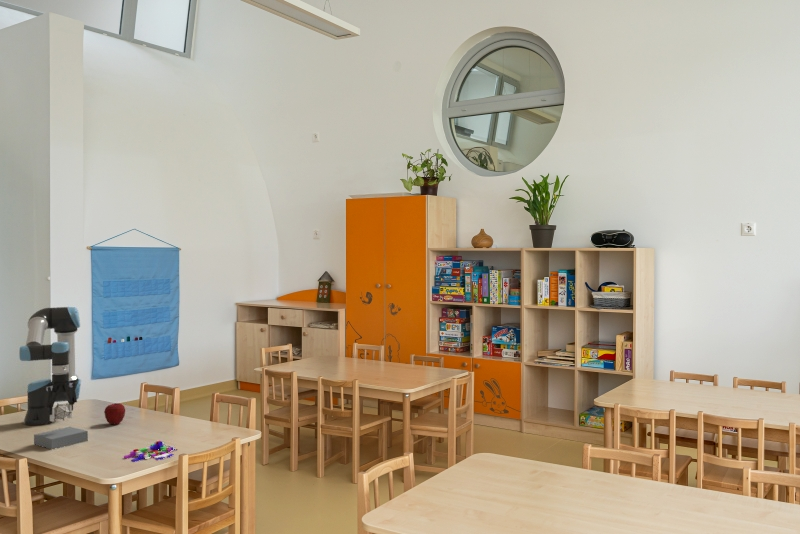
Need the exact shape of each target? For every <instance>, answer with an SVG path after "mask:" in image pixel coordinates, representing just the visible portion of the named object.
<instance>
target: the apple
mask: <svg viewBox="0 0 800 534" xmlns="http://www.w3.org/2000/svg"><path fill="white" fill-rule="evenodd" d="M125 414H126V408H125V405H124V404H122V403H117V402H116V403H112V404H109V405H107V406H106V407H105V409H104V417H105V419H106V421H107V423H109V424H110V425H120V423H121V422H123V420H124V418H125Z"/></svg>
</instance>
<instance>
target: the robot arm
mask: <svg viewBox="0 0 800 534" xmlns="http://www.w3.org/2000/svg"><path fill="white" fill-rule="evenodd" d="M80 321H81V320H80V314H79V310H78V308H77V307H73V306H63V307H62V306H61V307H44V308H42V309H39V310H37V311H36V312H34V313H33V314H32V315H31V316H30V317H29V319H28V321H27V328H28V332H27V337H26V341H25V345H21V346H20V347H19V355H18V356H19V360H20V361H21V362H33V361H34V362H35V361H45V360H46V361H47V360H48V361H49V360H51V378H43V379H37V380H34V381H31V382H29V383H28V385H27V391H26V393H27V411H26V413H25V416H24V419H23V424H24V425H25V424H26V425H27V426H39V425H46V424H51V423H54V422H55V421H56V419H55V418H54V408H55V407H54V405H55V403H58V402H59V403H61V402H67V403H68V404H67V403H66V404H67V407H68V409H69V411H70V412H72V413H73V411H74V405H75V403H77V402H78V399H79V398H80V394H81V393H80V391H81V383H82V380H81V379H79V375H77V374H76V352H75V351H76V348H75V347H76V346H75V345H76V344H75V337H76V336H75V334H76V333H77V332H78V329H79V328H80V327H81V322H80ZM48 329H51V330H53V332H54V333H55V334H56V335H57V341H55V342H52V343H51V344H44V338H45V333H46V332H45V331H46V330H48ZM72 413H69V414H68V415H67V416H66V418H68V419H72V416H73V415H72ZM54 419H55V420H54Z"/></svg>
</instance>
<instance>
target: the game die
mask: <svg viewBox="0 0 800 534" xmlns="http://www.w3.org/2000/svg"><path fill="white" fill-rule="evenodd" d="M56 403H57V405H56V406H55V407H53V408H54V418H55V419H54V420H55V421H56V420H62V421H65V418H67V415H68V414H69V413H73V411H72V412H70V411H69V409H68V407H67V404H69V403H68V402H67V403H66V404H59V403H58V402H56Z"/></svg>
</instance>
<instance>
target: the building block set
mask: <svg viewBox="0 0 800 534" xmlns="http://www.w3.org/2000/svg"><path fill="white" fill-rule="evenodd" d="M165 445H166V444H165V442H164V441H161V440H155V441H154V442H153V443H152V444H150V446H147V447H142V448H139V449H138V448H135V449H133V450H132V451H130V452H129V454H126V455H123V459H125V460H127V458H128V459H131V457H132V459H131V462H133V463H134V462H135V461H136V462H140V461H142V460H145V459H149V460H151V459H152V457H155V458H154V459H160V460H164V459H163V458H165V457H167V458H168V457H169V458H171V457H170V456H172V455H174V456H175V454H173V453H171V452H170V451H171V450H173V447H169V448H167V447H168V446H167V447H165ZM158 449H159V450H162V451H159V450H158ZM157 450H158V451H157ZM174 450H175V449H174ZM151 451H152V452H151ZM147 452H150V453H147ZM153 452H155V453H153ZM166 452H170V453H166ZM157 454H162V455H157ZM156 455H157V456H156ZM134 456H135V457H136V456H138V457H136V458H135V457H134ZM150 456H151V457H150ZM172 457H173V456H172ZM133 458H134V459H133ZM144 458H145V459H144ZM150 458H151V459H150ZM141 459H142V460H141ZM165 459H166V458H165ZM139 460H140V461H139Z"/></svg>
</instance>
